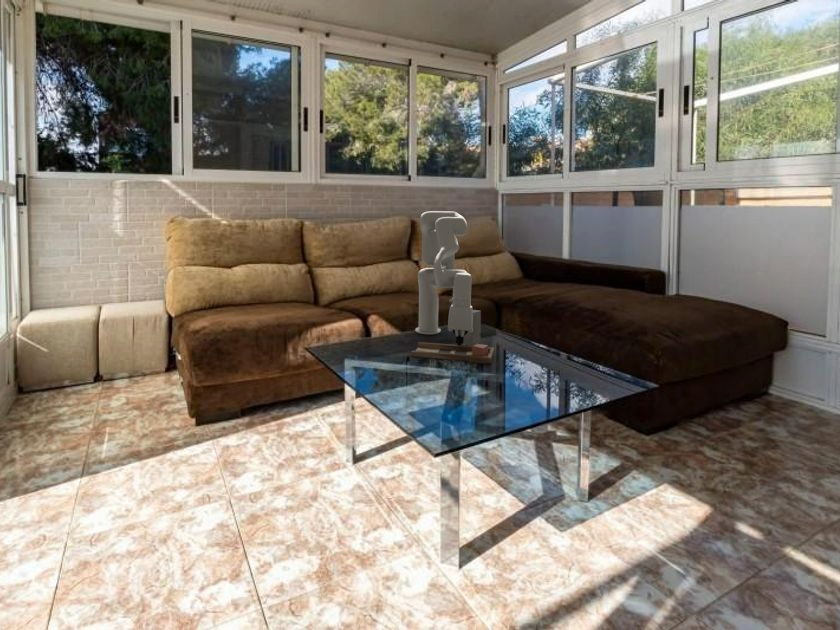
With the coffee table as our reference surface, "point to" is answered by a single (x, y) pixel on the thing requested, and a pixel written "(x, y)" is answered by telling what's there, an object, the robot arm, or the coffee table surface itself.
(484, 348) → the oxblood block
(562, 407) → the coffee table surface
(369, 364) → the coffee table surface
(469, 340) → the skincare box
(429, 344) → the trap box
